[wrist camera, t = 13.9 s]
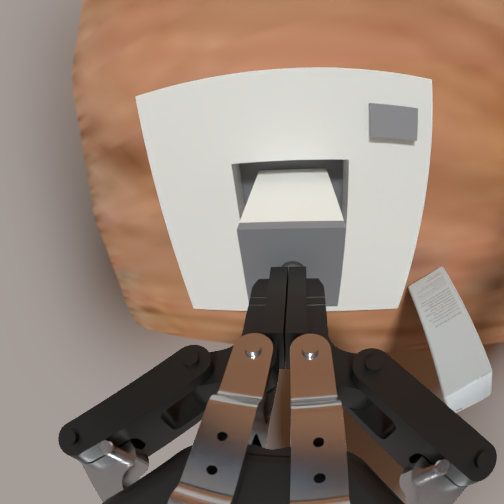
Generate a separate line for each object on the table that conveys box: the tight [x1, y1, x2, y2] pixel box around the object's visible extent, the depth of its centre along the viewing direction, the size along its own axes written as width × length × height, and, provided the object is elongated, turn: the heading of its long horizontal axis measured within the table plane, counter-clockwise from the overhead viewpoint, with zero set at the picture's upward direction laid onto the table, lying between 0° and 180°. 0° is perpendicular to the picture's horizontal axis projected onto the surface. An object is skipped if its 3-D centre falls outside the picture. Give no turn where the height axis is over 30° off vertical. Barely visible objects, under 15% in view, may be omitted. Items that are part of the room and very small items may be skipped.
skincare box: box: [408, 267, 492, 413], centre depth 17 cm, size 6×4×12 cm
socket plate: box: [135, 68, 433, 311], centre depth 18 cm, size 18×18×3 cm
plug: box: [237, 168, 346, 306], centre depth 15 cm, size 4×4×9 cm
